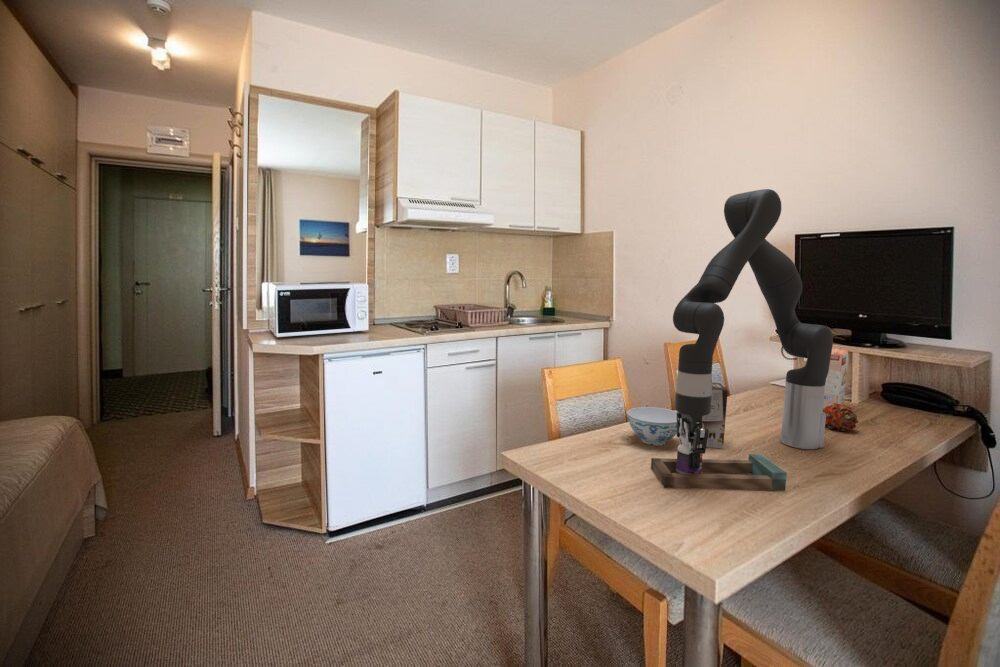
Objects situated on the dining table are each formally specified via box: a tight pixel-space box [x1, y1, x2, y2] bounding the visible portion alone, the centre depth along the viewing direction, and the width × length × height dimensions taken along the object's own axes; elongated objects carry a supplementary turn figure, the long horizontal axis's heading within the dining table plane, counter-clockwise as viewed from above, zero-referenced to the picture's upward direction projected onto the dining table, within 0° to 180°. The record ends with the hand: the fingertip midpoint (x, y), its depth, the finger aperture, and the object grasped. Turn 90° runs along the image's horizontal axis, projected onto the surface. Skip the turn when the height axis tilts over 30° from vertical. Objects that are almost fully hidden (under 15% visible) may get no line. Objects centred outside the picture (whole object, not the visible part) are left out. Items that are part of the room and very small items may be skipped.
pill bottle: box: [675, 435, 704, 474], centre depth 115 cm, size 5×5×10 cm
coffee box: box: [702, 382, 729, 449], centre depth 139 cm, size 9×6×16 cm
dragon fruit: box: [823, 403, 860, 432], centre depth 153 cm, size 8×8×12 cm
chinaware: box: [626, 406, 677, 446], centre depth 140 cm, size 15×15×8 cm
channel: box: [650, 453, 788, 491], centre depth 115 cm, size 26×11×4 cm, turn 89°
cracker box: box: [823, 347, 850, 408], centre depth 172 cm, size 14×6×21 cm, turn 138°
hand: (689, 463), depth 115 cm, fingers closed on pill bottle, 5 cm apart
